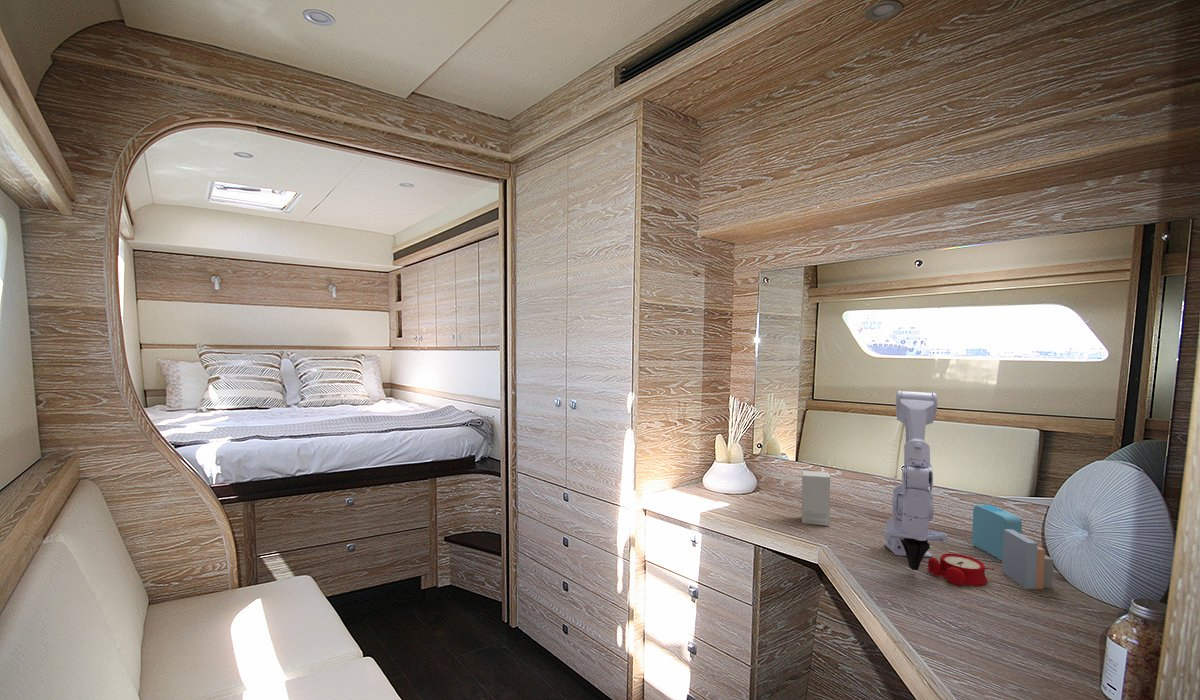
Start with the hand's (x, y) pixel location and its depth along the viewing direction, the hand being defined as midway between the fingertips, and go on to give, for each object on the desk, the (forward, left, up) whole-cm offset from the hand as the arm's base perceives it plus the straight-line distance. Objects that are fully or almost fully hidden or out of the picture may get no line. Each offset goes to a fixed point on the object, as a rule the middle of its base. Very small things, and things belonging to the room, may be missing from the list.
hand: (913, 568), depth 137 cm
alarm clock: (+10, 0, -2) cm, 10 cm away
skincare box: (-14, +35, -2) cm, 38 cm away
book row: (+26, 0, -1) cm, 26 cm away
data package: (+29, +17, -2) cm, 34 cm away
